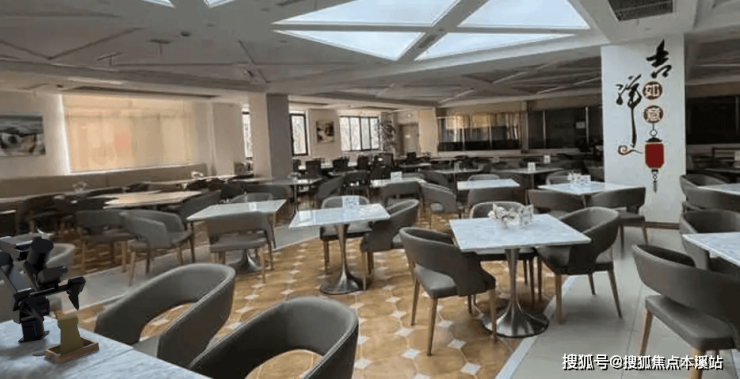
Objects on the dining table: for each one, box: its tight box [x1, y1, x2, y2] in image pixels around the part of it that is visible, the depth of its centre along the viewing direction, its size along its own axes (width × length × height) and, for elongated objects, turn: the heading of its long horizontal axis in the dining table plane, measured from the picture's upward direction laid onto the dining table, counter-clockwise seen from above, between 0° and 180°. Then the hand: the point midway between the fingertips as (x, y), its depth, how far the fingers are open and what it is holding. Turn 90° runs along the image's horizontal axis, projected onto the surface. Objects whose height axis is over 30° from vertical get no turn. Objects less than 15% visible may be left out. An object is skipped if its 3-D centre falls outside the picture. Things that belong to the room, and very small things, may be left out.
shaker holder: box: [44, 336, 100, 365], centre depth 136 cm, size 10×10×2 cm
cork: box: [56, 313, 85, 355], centre depth 135 cm, size 6×6×11 cm
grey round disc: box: [32, 343, 60, 357], centre depth 139 cm, size 7×7×1 cm
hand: (61, 314), depth 137 cm, fingers open, 9 cm apart
